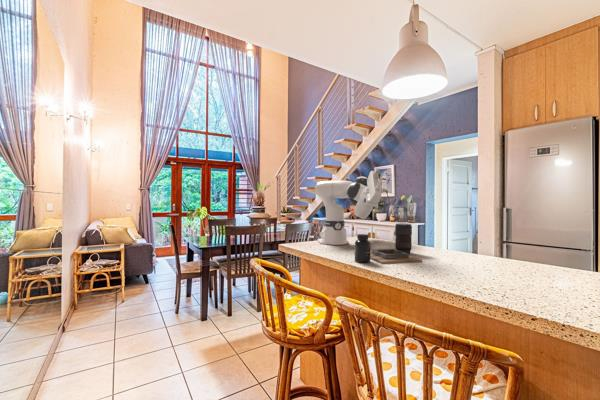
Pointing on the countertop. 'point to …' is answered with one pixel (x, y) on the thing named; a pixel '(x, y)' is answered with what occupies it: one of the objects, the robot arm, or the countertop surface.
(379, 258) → the collar dock
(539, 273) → the countertop surface
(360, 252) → the supplement bottle
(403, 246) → the camera lens
